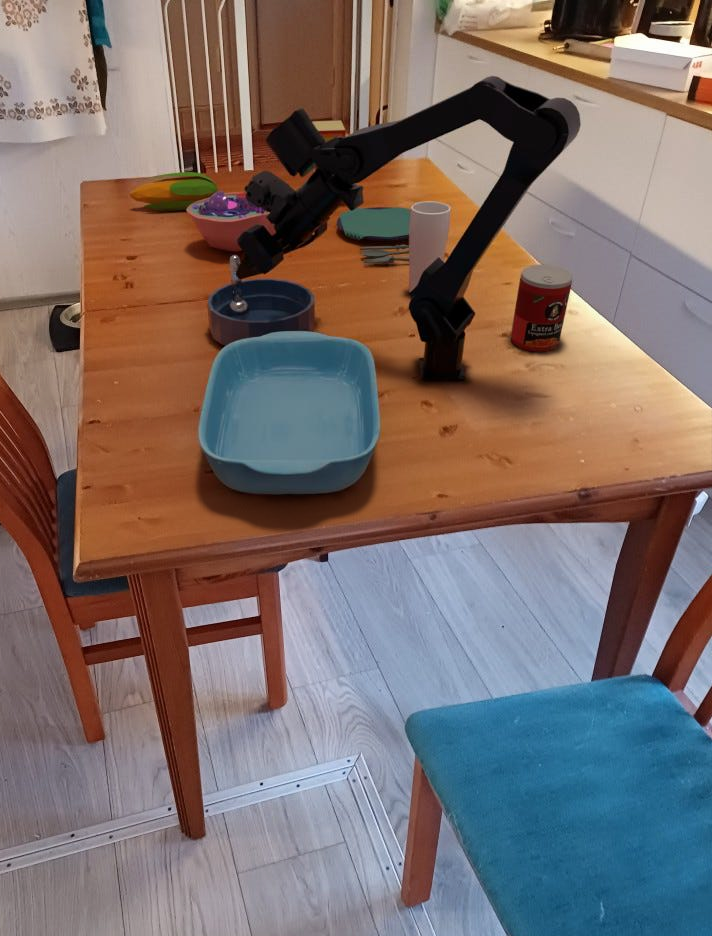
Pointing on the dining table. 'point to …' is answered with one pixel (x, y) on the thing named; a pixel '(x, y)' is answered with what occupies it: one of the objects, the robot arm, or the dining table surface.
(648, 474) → the dining table surface
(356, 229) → the cutlery set
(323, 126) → the baking soda box
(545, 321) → the canned food
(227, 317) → the dark blue round bowl
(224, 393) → the casserole dish
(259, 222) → the cell model
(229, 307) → the silver metal pestle
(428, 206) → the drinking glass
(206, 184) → the corn
